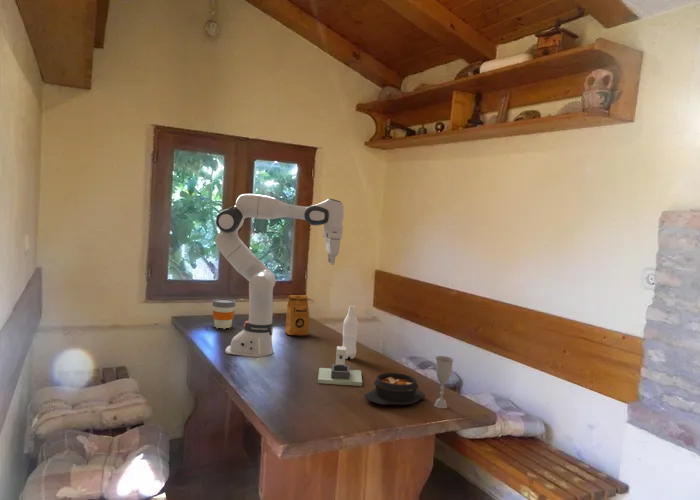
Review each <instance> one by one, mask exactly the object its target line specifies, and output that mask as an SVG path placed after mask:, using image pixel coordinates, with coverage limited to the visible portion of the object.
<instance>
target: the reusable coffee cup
mask: <svg viewBox="0 0 700 500" xmlns="http://www.w3.org/2000/svg"><path fill="white" fill-rule="evenodd" d="M235 307H236V300H235V299H230V298H215V299H213V301H212V308H213V310H212V317H213V322H214V328H215V327H216V328H215V329H218V328H223V329H222V330H226V328H229V329H231V328H232V324H233V320H234V317H235ZM230 327H231V328H230Z"/></svg>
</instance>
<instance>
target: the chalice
mask: <svg viewBox="0 0 700 500" xmlns="http://www.w3.org/2000/svg"><path fill="white" fill-rule="evenodd" d="M435 360H436V364H435V372H436V377H437V380H438V381H439V382H438V383H440V384H441V385H440V387H439V388H440V392H439V398H436V400H435V402H434V404H433V406H434V407H435V408H437V409H447V408H448V404H447V401H446V400H445V399H444V397H443V396H444V394H445V392H444V390H445V386H444V385H445V384H447V383H448V381H449V380H450V378H451V375H452V372H453V363H454V361H455V359H454V358H452V357H450V356H445V355H444V356H443V355H438V356H435Z"/></svg>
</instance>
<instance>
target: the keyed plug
mask: <svg viewBox="0 0 700 500" xmlns="http://www.w3.org/2000/svg"><path fill="white" fill-rule="evenodd" d="M342 346H343V345H341V346H339V345H337V346H336V356H335V364H340V365H346V359H345V356H346V347H342Z"/></svg>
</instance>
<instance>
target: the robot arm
mask: <svg viewBox="0 0 700 500" xmlns="http://www.w3.org/2000/svg"><path fill="white" fill-rule="evenodd" d="M344 211H345V210H344V204H343V202H342V201H341V200H338V199H335V198H327V199H326V200H324V201H321V202H319V203H316V204H313V205H310V206H303V205H295V204H289V203H287V202H283V201H281V200H279V199H277V198H275V197H272V196H268V195H263V194H256V193H255V194H254V193H243V194H240V195H238V197H237V199H236V201H235V205H234V206H230V207H228V208H225V209H223V210H221V211H220V212H219V213H218V214H217V215H216V219H215V223H216V227H217V228H218V229H219V230H220V232H219V233H218V234H217V235H216V237H215V240H214V242H215V246H216V247H217V249H218V250H219V252H220V254H221V255H222V256H223V257H224V258H225V259H226V261H227V262H228V263H229V264H230V265H231V266H232V267H233V268H234V270H235V271H236V272H237V273H239V274H240V275H241V276H242V277H243V278H245V279H246V280H247V281H248V302H249V303H248V304H249V305H248V306H249V307H248V308H249V309H248V320H245V321H244V323H243V330H241V331H240V332H238V333H237V334H236V335H235V336H233V337H232V339H231V342H230V345H228V346H226V347H225V353H226V354H228V355H235V356H244V357H252V358H259V357H263V356H264V357H265V356H270V355H271V354H274V348H273V347H274V346H273V339H272V338H273V337H272V336H273V331H274V326H273V325H274V324H273V310H274V304H273V303H274V301H273V299H274V298H273V294H274V287H275V285H276V281H277V280H276V277H275V274H274V273H273V272H272V271H271V270H270V269H269V268H268V267H267V266H266V264H264V263H263V261H261V260H260V259H259V258H258V257H257V256H256V255H255V254H254V253H253V252H252V251H251V250H250V248H249V247H248V246H247V245H246V244H245V242H244V241H242V239H241V238H240V237H239V234H240V232H241V230H242V228H243V227H244V225H245V222H246V219H247V218H251V219H252V218H253V219H259V220H276V219H281V218H290V219H297V220H301V221H302V220H303V221H306V223H307V224H309V226H310V225H311V226H313V227H315V226H316V227H317V226H322V225H323V234H322V235H323V238H325V252H326V253H327V263H329V265H331V266H332V265H333V266H334V265H335V261H336V257H337V256H339V253H340V248H341V247H340V246H341V240H342V239H343V233H344V231H343V227H344V226H343V221H344V218H345V217H344V213H345V212H344Z"/></svg>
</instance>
